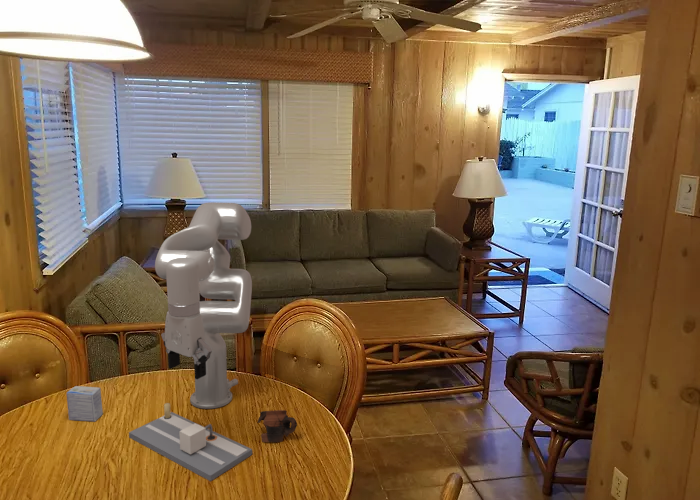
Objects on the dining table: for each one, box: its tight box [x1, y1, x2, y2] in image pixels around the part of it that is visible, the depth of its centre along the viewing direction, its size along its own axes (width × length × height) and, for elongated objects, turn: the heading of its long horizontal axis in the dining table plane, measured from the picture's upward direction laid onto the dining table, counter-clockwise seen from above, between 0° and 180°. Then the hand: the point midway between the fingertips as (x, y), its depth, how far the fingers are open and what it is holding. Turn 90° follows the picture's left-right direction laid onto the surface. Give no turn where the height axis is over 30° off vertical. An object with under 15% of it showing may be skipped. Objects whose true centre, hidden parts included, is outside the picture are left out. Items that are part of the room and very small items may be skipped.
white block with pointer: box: [179, 422, 213, 454], centre depth 143 cm, size 9×4×5 cm, turn 146°
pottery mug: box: [257, 409, 298, 443], centre depth 153 cm, size 12×10×8 cm
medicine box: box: [66, 385, 104, 422], centre depth 158 cm, size 8×4×9 cm, turn 84°
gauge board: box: [128, 402, 253, 482], centre depth 146 cm, size 14×32×6 cm, turn 56°
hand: (187, 371), depth 141 cm, fingers open, 9 cm apart
